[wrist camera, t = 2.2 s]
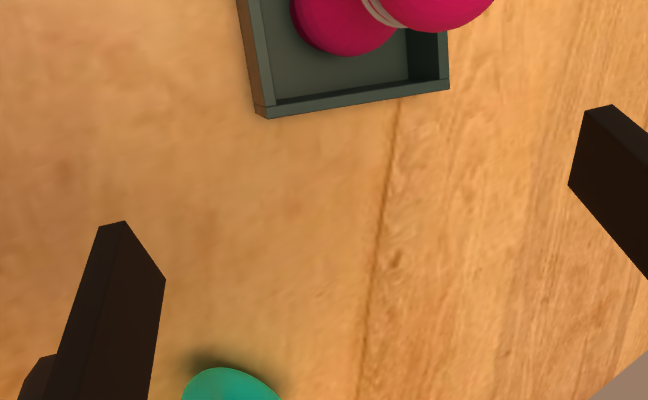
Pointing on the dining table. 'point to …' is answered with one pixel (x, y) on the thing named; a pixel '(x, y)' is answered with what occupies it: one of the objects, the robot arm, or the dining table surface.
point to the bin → (332, 65)
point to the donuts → (226, 386)
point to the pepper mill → (375, 21)
